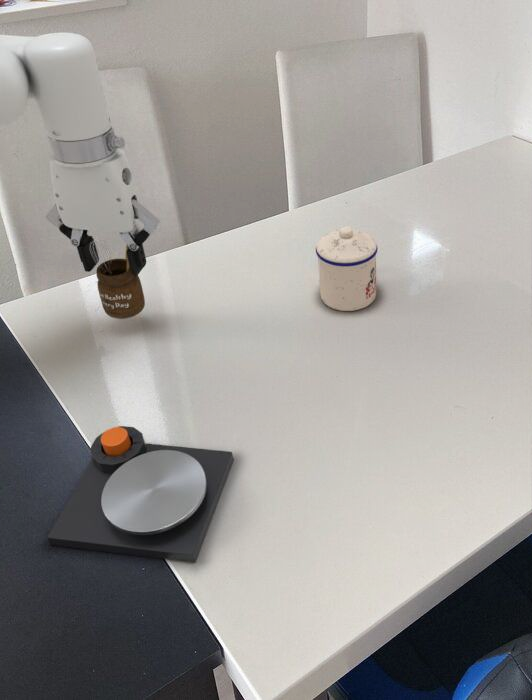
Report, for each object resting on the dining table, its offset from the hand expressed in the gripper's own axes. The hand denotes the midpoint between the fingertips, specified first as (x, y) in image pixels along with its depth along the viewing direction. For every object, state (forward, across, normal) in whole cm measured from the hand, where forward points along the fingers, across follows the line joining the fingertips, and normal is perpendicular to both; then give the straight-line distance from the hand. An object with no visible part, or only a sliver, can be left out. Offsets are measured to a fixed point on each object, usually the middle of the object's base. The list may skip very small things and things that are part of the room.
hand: (115, 267), depth 95 cm
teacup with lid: (+9, -31, -12) cm, 35 cm away
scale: (+10, -15, +30) cm, 35 cm away
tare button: (+7, -10, +26) cm, 28 cm away
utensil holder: (+7, 0, 0) cm, 7 cm away
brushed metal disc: (+7, -17, +32) cm, 36 cm away
